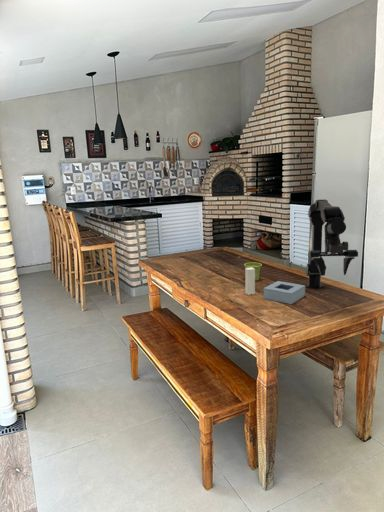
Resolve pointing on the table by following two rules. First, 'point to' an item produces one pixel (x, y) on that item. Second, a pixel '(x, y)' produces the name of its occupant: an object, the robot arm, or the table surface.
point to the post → (250, 281)
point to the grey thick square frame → (284, 292)
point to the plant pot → (255, 266)
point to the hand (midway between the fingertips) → (333, 275)
